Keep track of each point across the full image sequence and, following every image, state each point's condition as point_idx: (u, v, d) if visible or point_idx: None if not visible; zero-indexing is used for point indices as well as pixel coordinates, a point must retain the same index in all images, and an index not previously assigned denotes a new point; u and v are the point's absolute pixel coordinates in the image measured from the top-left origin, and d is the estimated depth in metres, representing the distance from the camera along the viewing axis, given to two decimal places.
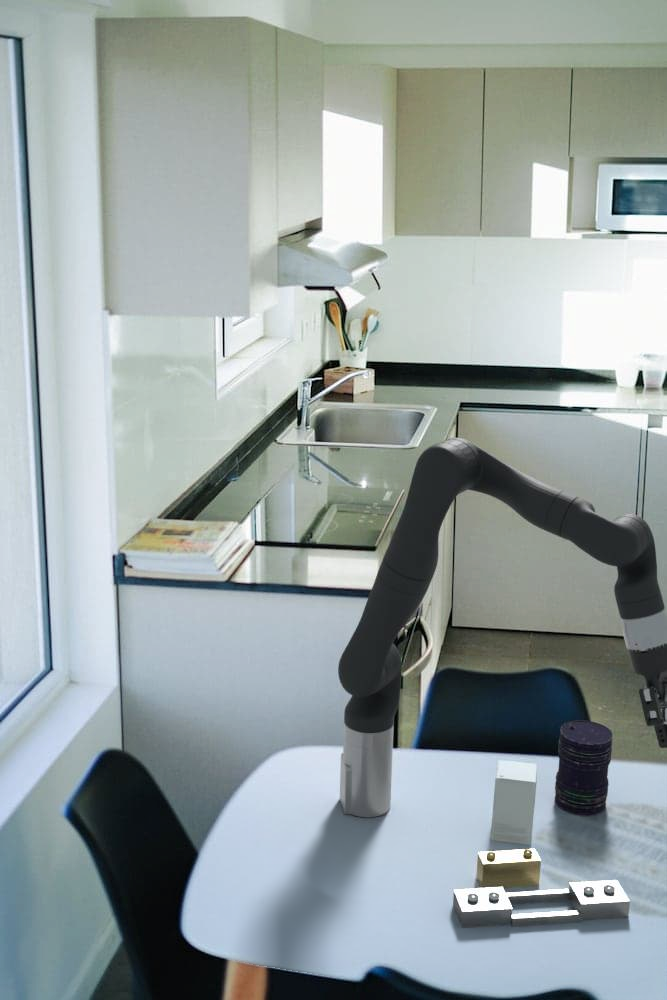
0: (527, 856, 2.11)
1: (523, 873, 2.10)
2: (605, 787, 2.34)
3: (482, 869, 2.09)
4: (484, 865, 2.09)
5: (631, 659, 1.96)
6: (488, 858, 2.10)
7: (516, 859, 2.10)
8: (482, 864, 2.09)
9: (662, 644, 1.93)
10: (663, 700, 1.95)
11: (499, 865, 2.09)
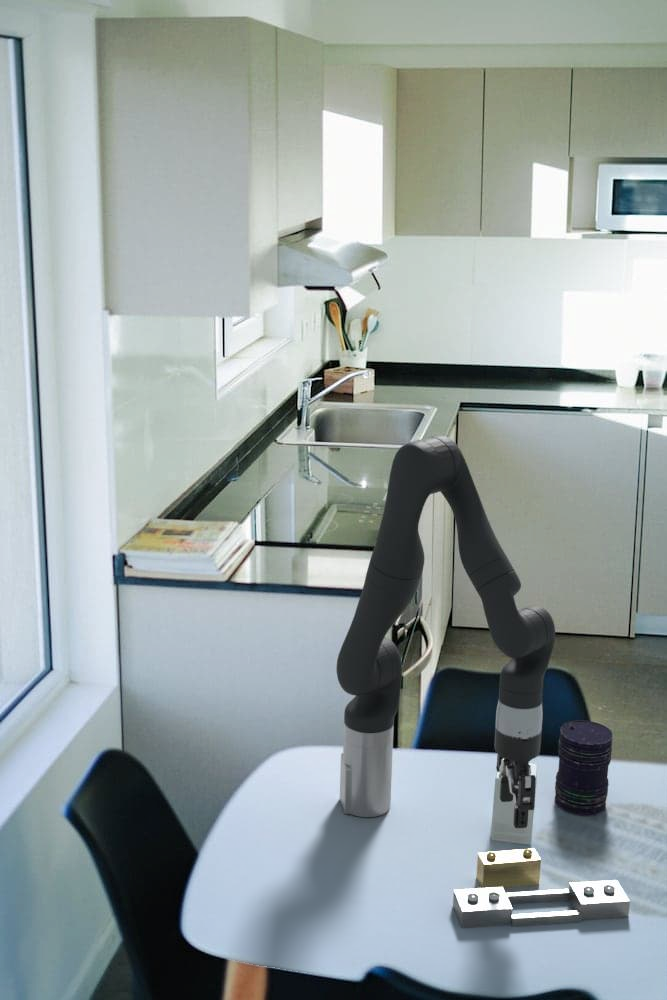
0: (527, 856, 2.11)
1: (523, 872, 2.10)
2: (605, 787, 2.34)
3: (483, 870, 2.09)
4: (485, 865, 2.09)
5: (505, 744, 2.02)
6: (488, 858, 2.10)
7: (516, 859, 2.10)
8: (483, 865, 2.09)
9: (539, 733, 2.02)
10: None
11: (499, 865, 2.09)
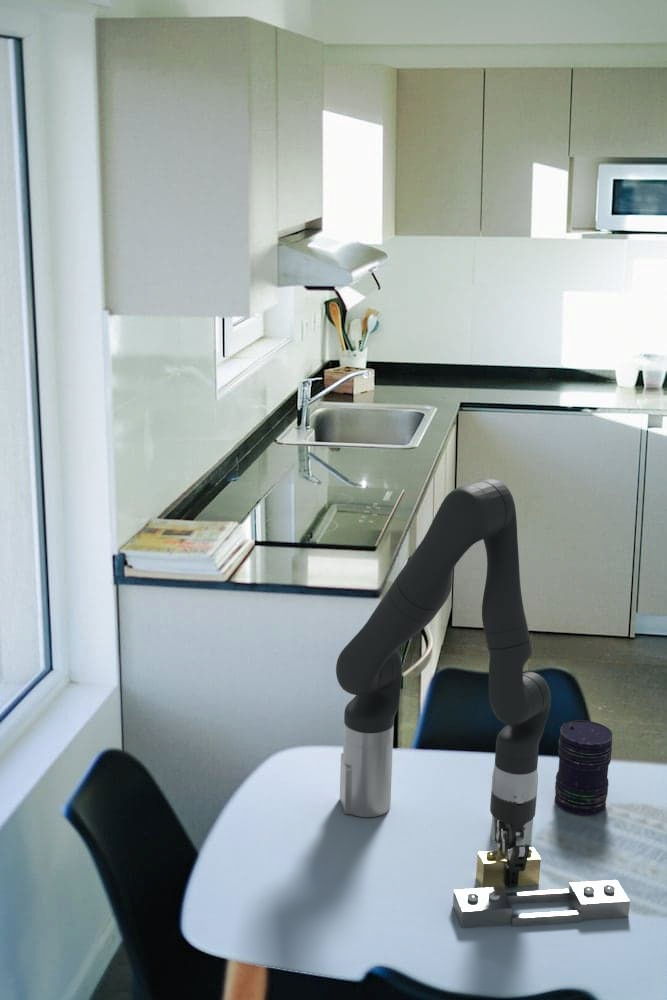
0: None
1: (523, 871, 2.10)
2: (605, 787, 2.34)
3: (482, 869, 2.09)
4: (485, 865, 2.09)
5: (501, 808, 2.05)
6: (488, 858, 2.10)
7: None
8: (482, 864, 2.09)
9: (534, 797, 2.06)
10: None
11: (499, 864, 2.09)
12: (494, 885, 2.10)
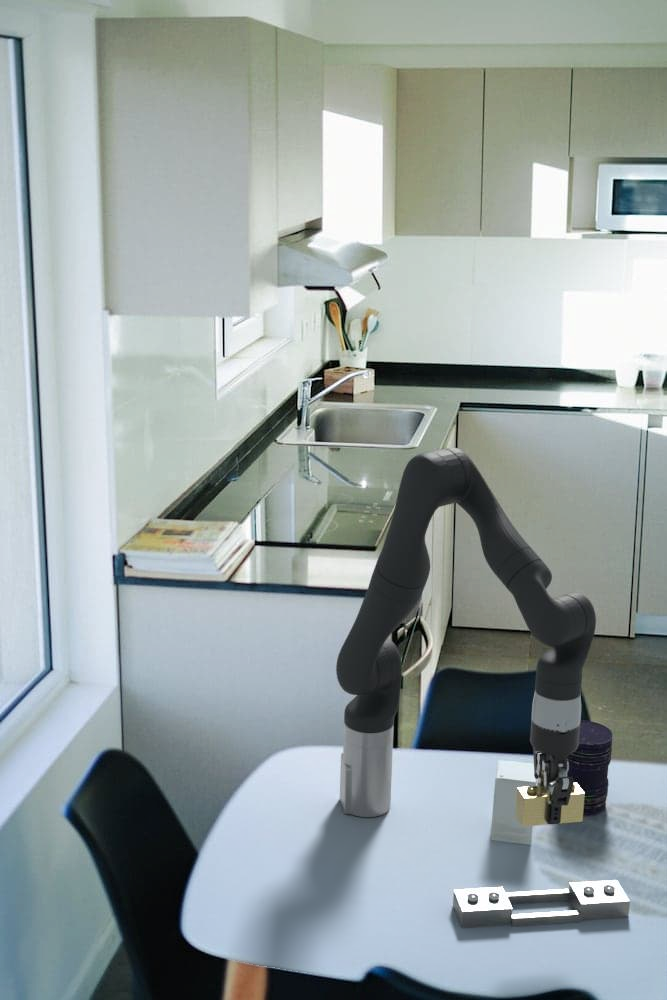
0: None
1: (566, 807, 1.97)
2: (605, 787, 2.34)
3: (523, 804, 1.96)
4: (525, 800, 1.96)
5: (542, 738, 1.92)
6: (529, 792, 1.97)
7: None
8: (523, 799, 1.96)
9: (578, 725, 1.93)
10: None
11: (541, 799, 1.96)
12: (535, 822, 1.97)
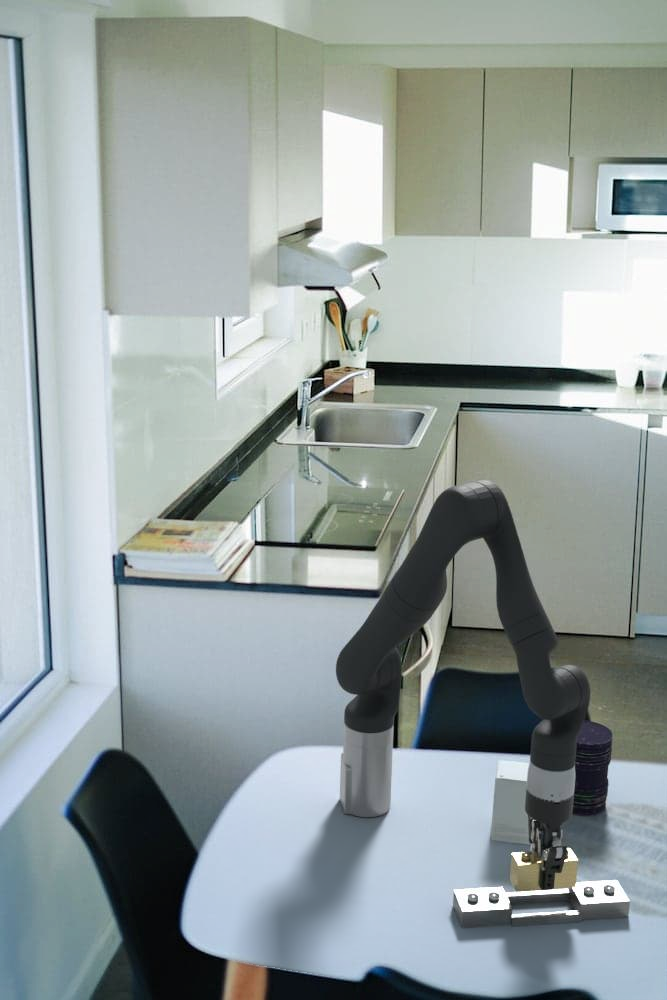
0: None
1: (559, 873, 2.01)
2: (605, 787, 2.34)
3: (517, 871, 2.00)
4: (519, 866, 1.99)
5: (537, 807, 1.96)
6: (523, 859, 2.00)
7: None
8: (517, 865, 1.99)
9: (572, 795, 1.96)
10: None
11: (535, 866, 2.00)
12: (529, 888, 2.00)
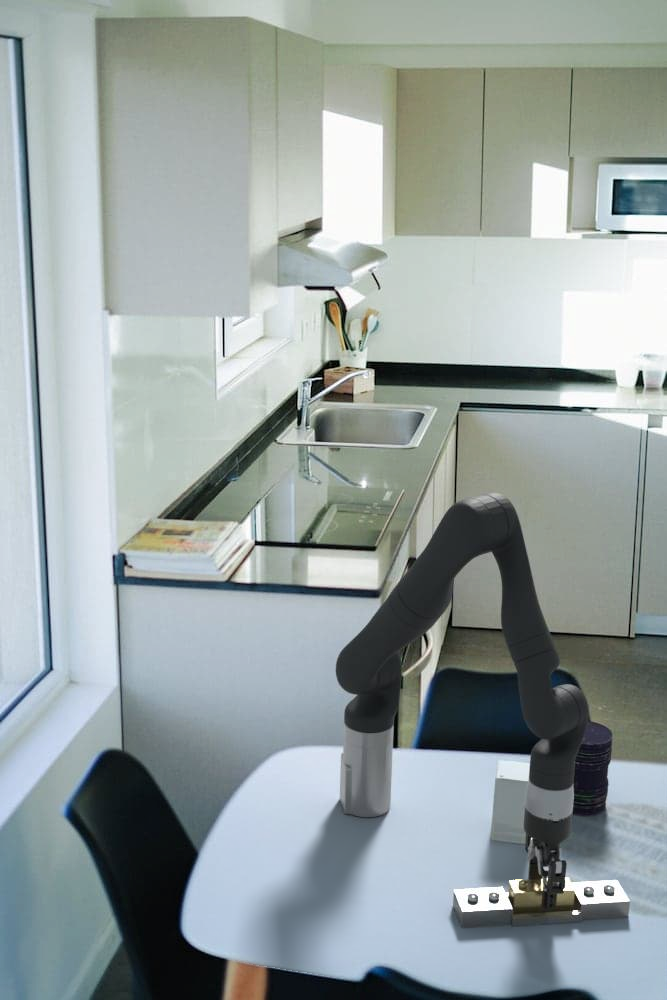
0: None
1: (556, 903, 2.02)
2: (605, 787, 2.34)
3: (513, 898, 2.02)
4: (515, 894, 2.01)
5: (536, 826, 1.97)
6: (520, 887, 2.02)
7: None
8: (513, 893, 2.01)
9: (570, 814, 1.97)
10: None
11: (531, 894, 2.01)
12: None
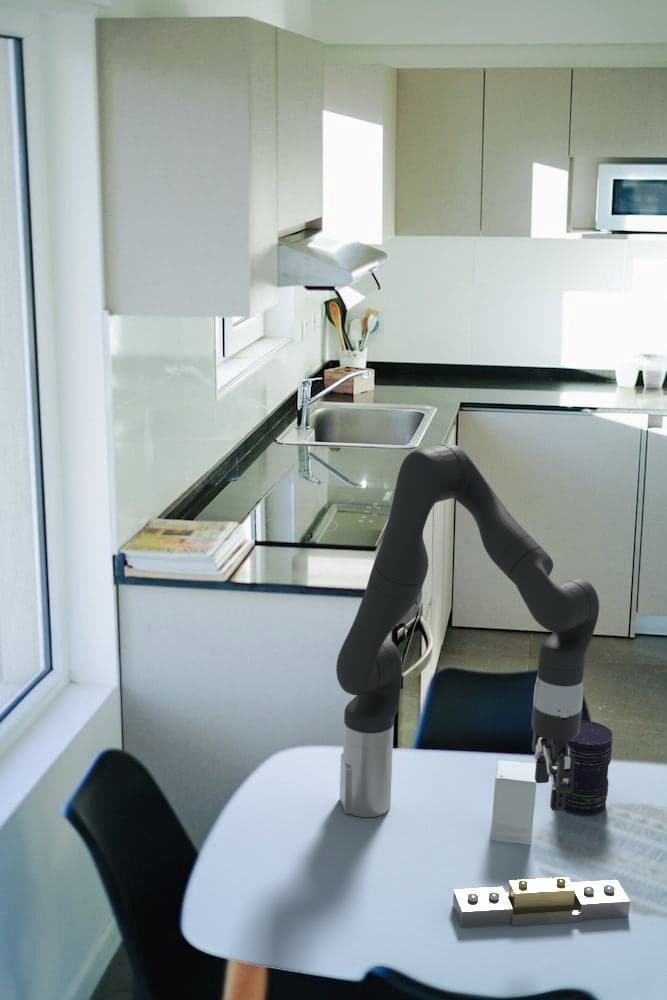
0: (560, 885, 2.03)
1: (556, 902, 2.02)
2: (605, 787, 2.34)
3: (514, 898, 2.02)
4: (516, 894, 2.01)
5: (544, 723, 1.93)
6: (520, 887, 2.02)
7: (549, 888, 2.02)
8: (514, 893, 2.01)
9: (579, 711, 1.93)
10: None
11: (531, 894, 2.01)
12: None
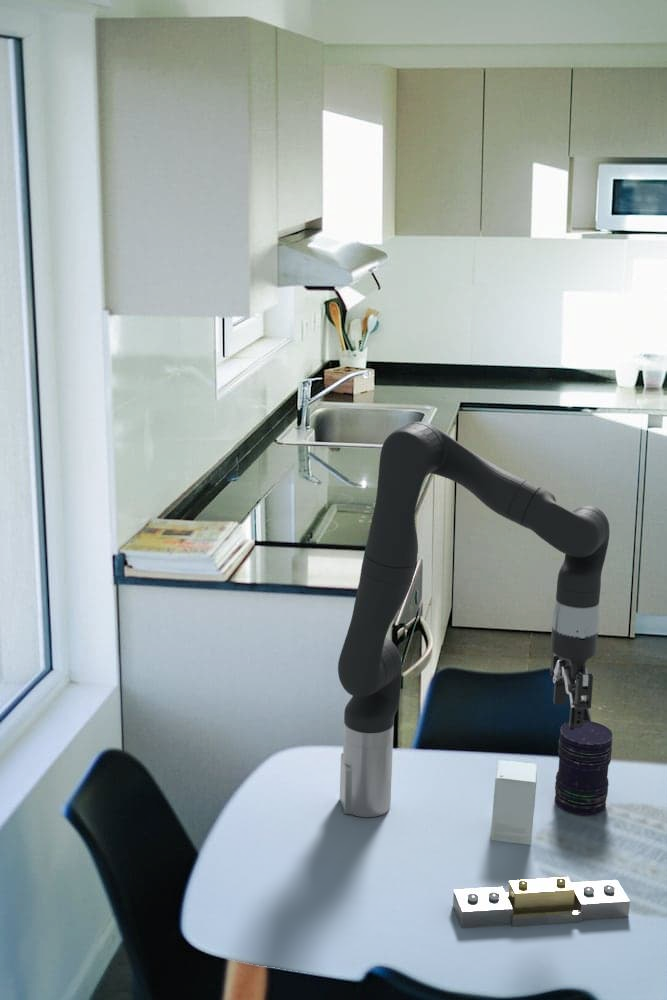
0: (560, 885, 2.03)
1: (556, 902, 2.02)
2: (605, 787, 2.34)
3: (514, 899, 2.01)
4: (516, 895, 2.01)
5: (563, 644, 2.04)
6: (520, 887, 2.02)
7: (549, 888, 2.02)
8: (514, 893, 2.01)
9: (596, 633, 2.04)
10: None
11: (531, 894, 2.01)
12: None
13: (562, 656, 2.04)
